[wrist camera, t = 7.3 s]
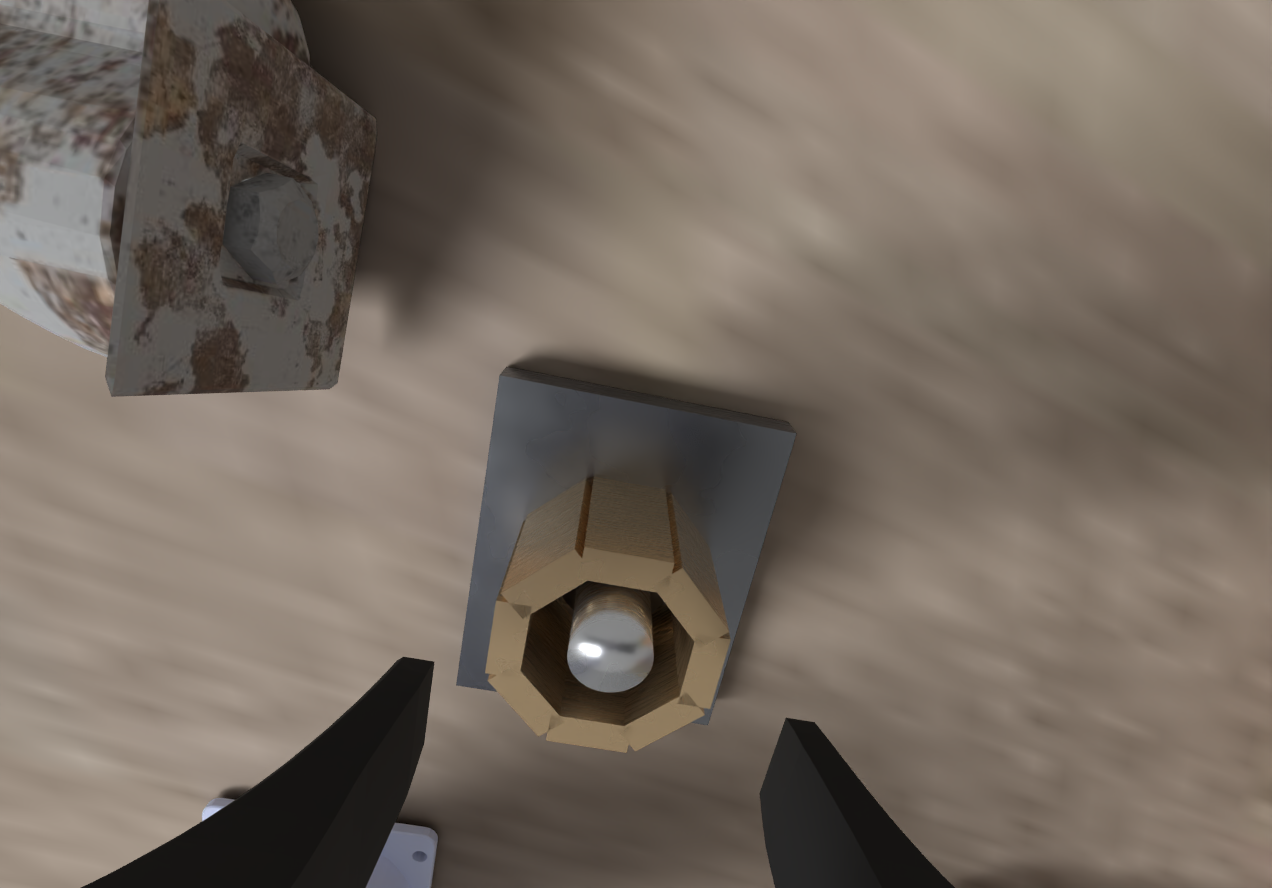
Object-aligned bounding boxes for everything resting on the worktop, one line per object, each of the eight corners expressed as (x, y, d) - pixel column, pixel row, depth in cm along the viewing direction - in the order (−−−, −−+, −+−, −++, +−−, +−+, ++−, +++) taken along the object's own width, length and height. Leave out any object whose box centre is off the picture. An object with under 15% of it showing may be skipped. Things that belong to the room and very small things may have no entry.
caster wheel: (50, -142, 16) (434, -75, 16) (6, 313, 18) (357, 393, 17) (-397, -496, 10) (236, -410, 9) (-411, 276, 11) (136, 405, 10)
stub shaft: (704, 703, 22) (724, 838, 17) (463, 664, 21) (416, 793, 17) (788, 422, 19) (841, 494, 14) (506, 366, 18) (462, 422, 13)
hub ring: (681, 659, 20) (693, 762, 16) (505, 630, 20) (476, 730, 16) (724, 500, 18) (749, 576, 15) (532, 464, 18) (506, 533, 14)
